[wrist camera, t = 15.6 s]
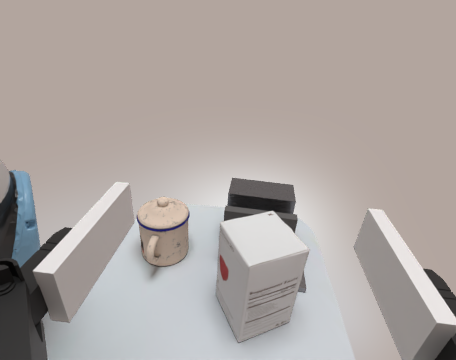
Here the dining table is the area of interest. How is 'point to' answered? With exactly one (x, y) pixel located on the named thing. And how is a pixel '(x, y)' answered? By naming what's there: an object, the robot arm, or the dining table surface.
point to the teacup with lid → (163, 231)
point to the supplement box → (258, 273)
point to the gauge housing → (263, 200)
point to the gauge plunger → (244, 212)
